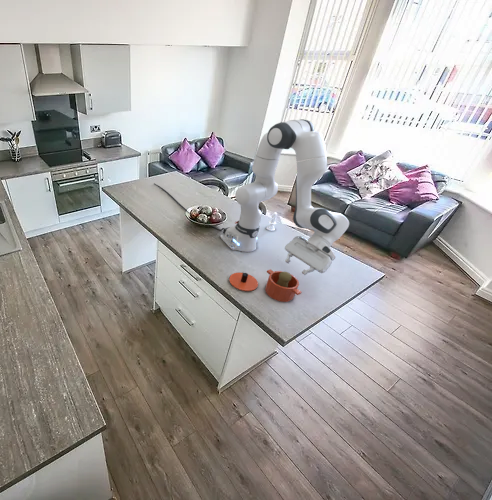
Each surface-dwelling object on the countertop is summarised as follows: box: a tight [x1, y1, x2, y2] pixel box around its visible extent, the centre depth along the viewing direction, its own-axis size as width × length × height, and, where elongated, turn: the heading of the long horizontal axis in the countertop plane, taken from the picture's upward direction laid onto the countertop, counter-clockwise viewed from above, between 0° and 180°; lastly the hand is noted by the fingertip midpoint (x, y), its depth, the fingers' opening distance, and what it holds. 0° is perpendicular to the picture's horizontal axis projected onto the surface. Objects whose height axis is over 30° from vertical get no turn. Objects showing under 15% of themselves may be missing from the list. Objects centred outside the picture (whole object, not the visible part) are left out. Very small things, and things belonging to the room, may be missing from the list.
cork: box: [276, 271, 292, 288], centre depth 133 cm, size 6×6×11 cm
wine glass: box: [265, 211, 278, 232], centre depth 184 cm, size 5×5×12 cm
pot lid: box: [228, 272, 259, 292], centre depth 141 cm, size 14×14×5 cm
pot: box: [264, 268, 303, 303], centre depth 135 cm, size 13×18×8 cm
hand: (294, 268), depth 131 cm, fingers open, 8 cm apart
